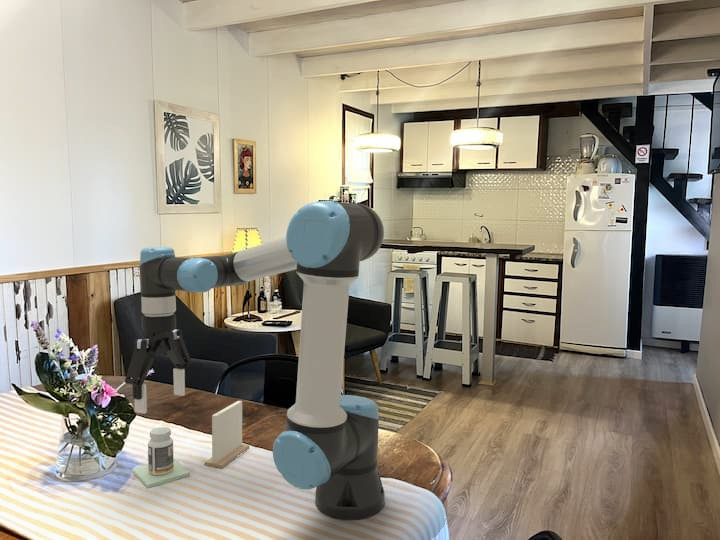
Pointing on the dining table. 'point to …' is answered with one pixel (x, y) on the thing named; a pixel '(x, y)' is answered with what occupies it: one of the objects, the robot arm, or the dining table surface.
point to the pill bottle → (160, 451)
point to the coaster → (154, 480)
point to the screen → (226, 436)
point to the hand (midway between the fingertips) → (161, 403)
